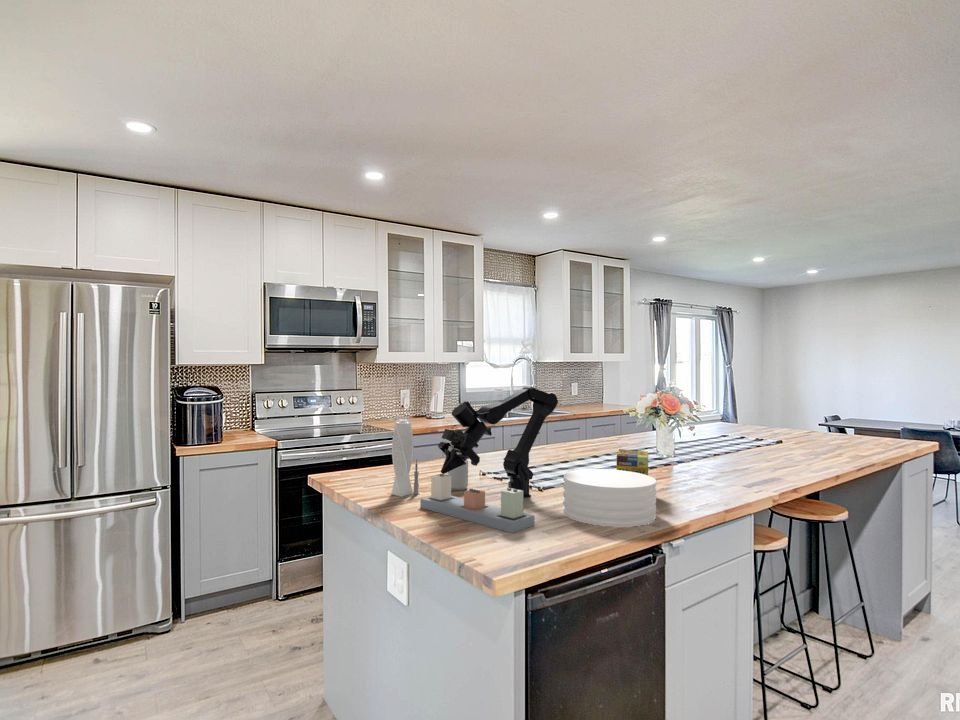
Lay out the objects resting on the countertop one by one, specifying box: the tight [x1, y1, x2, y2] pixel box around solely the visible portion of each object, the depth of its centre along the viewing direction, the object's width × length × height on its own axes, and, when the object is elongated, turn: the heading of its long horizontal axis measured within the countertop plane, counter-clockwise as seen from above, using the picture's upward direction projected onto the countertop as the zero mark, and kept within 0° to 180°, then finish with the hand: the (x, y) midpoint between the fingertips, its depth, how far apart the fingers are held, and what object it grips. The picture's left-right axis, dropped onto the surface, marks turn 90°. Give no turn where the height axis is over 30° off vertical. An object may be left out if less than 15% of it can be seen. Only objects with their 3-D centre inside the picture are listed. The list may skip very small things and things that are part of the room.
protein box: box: [615, 448, 649, 476], centre depth 191 cm, size 10×15×16 cm
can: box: [447, 459, 469, 491], centre depth 200 cm, size 8×8×12 cm
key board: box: [419, 495, 535, 534], centre depth 164 cm, size 38×10×3 cm, turn 48°
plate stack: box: [562, 468, 657, 528], centre depth 169 cm, size 28×28×12 cm
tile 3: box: [463, 488, 486, 511], centre depth 164 cm, size 4×4×8 cm
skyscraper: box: [391, 415, 420, 499], centre depth 190 cm, size 8×8×28 cm
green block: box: [500, 487, 524, 518], centre depth 155 cm, size 4×4×8 cm
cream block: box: [430, 473, 452, 500], centre depth 174 cm, size 4×4×8 cm
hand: (442, 473), depth 174 cm, fingers closed
